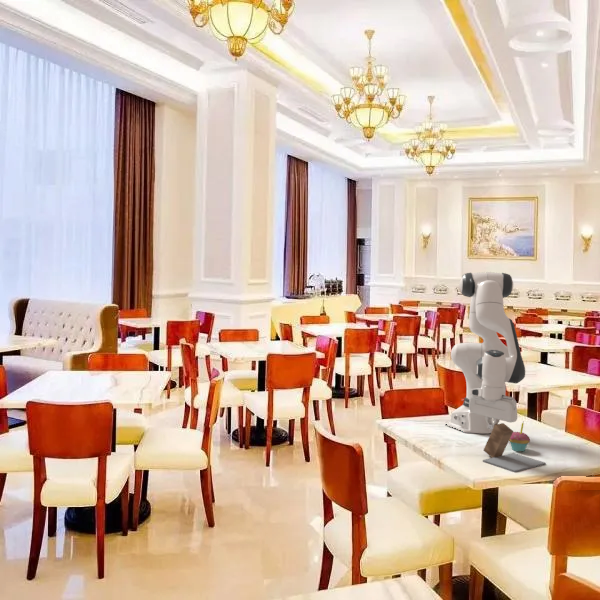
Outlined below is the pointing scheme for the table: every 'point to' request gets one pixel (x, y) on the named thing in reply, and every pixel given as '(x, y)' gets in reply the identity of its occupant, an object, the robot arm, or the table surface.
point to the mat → (514, 462)
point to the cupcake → (519, 440)
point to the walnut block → (498, 440)
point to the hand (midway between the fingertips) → (491, 429)
